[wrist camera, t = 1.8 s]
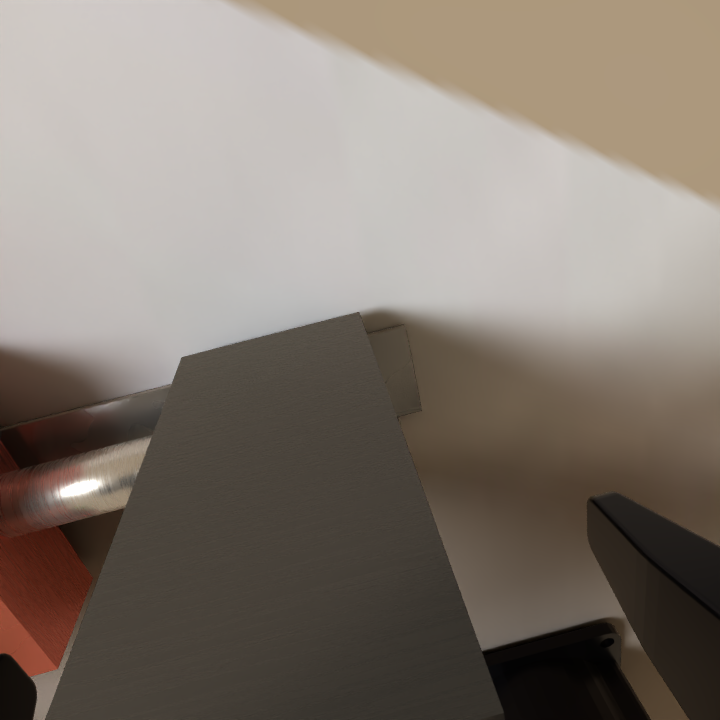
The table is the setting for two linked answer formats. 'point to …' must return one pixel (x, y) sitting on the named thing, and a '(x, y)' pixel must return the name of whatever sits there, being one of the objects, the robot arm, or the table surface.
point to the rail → (144, 408)
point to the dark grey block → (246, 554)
